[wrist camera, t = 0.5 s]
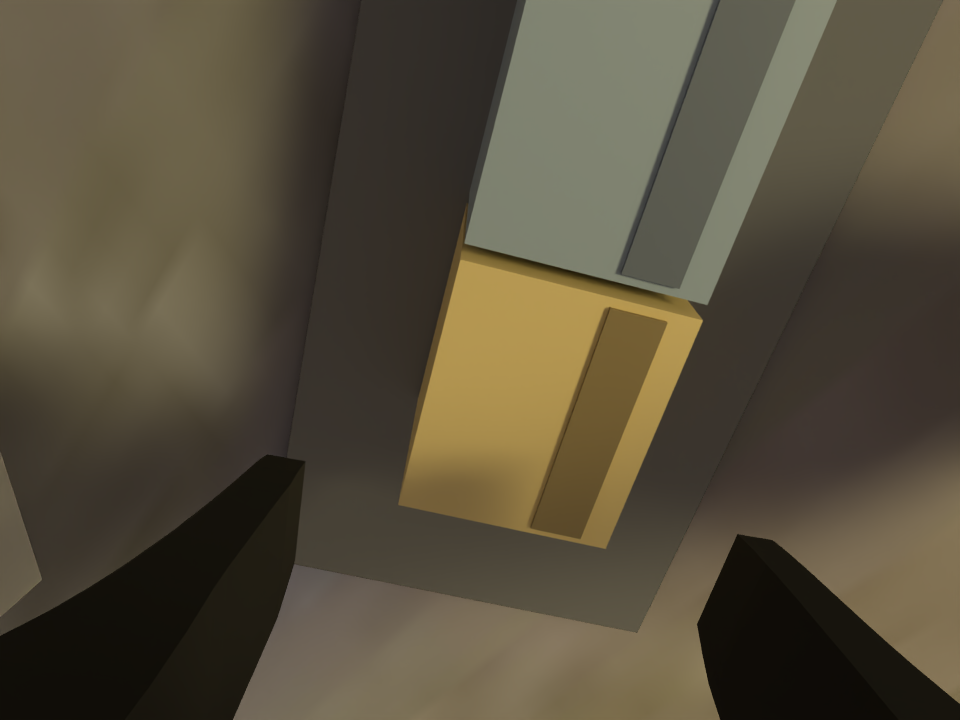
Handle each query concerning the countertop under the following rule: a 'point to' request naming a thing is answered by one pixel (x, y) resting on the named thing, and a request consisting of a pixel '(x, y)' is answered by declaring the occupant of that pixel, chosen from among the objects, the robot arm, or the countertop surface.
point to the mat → (423, 278)
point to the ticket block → (637, 133)
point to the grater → (14, 549)
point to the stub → (541, 395)
